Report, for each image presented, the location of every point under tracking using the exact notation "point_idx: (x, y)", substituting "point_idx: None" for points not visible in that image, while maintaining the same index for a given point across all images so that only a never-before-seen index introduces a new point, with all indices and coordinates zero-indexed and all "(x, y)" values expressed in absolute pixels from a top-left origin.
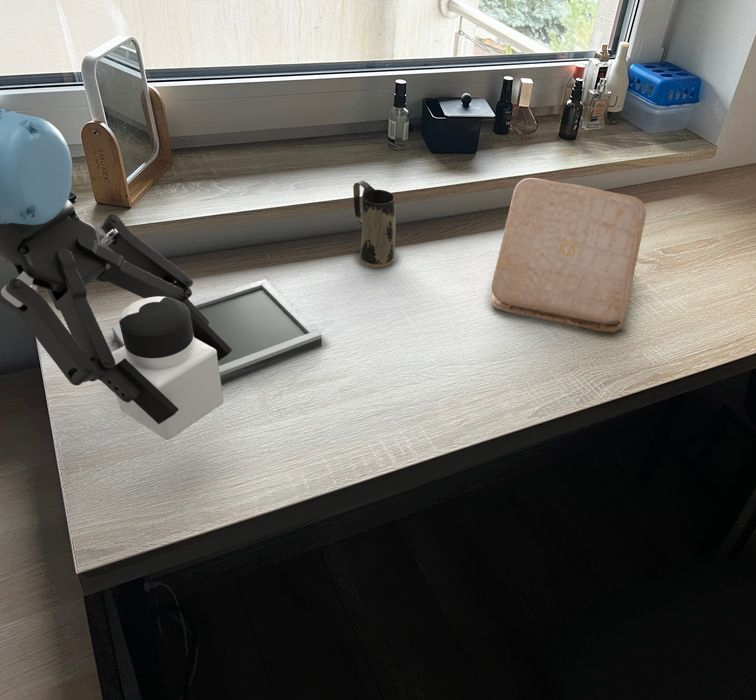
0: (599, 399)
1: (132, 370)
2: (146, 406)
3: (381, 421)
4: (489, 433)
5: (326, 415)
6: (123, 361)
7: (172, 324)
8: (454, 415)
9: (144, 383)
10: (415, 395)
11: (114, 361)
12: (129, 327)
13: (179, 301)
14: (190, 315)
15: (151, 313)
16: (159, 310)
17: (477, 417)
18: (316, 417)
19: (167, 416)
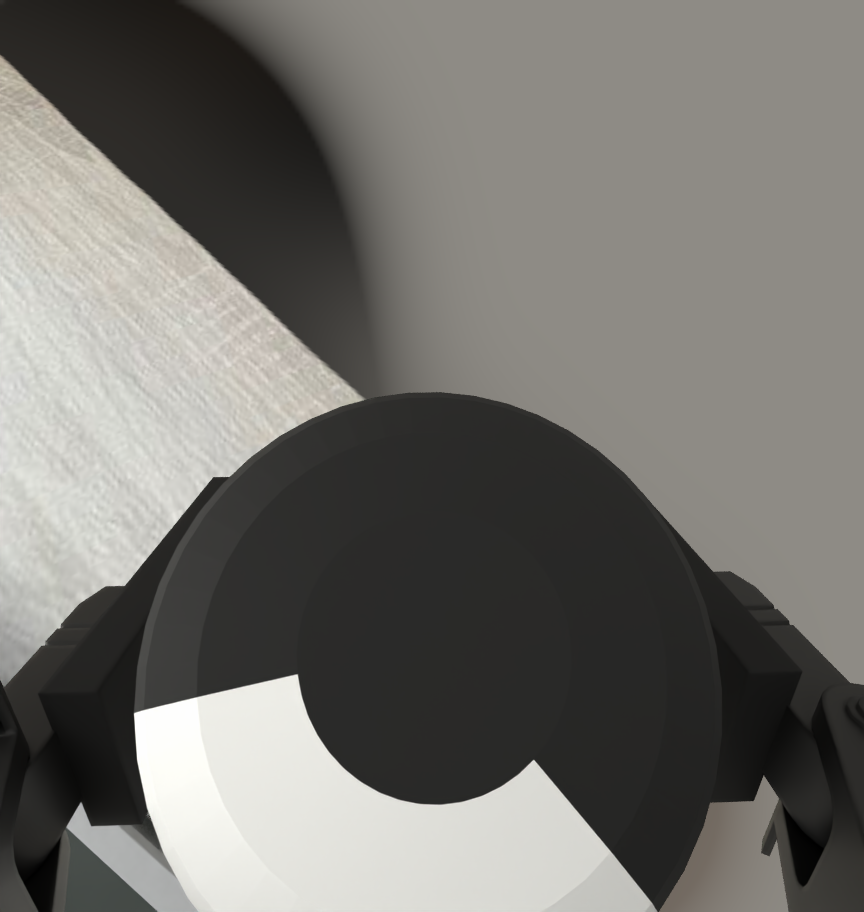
0: (23, 82)
1: (723, 613)
2: None
3: (154, 366)
4: (146, 203)
5: (160, 470)
6: (769, 662)
7: (506, 419)
8: (109, 259)
9: (689, 555)
10: (60, 333)
11: (829, 698)
12: (707, 717)
13: (190, 552)
14: (141, 622)
15: (494, 623)
16: (426, 580)
17: (107, 226)
18: (171, 486)
19: None
